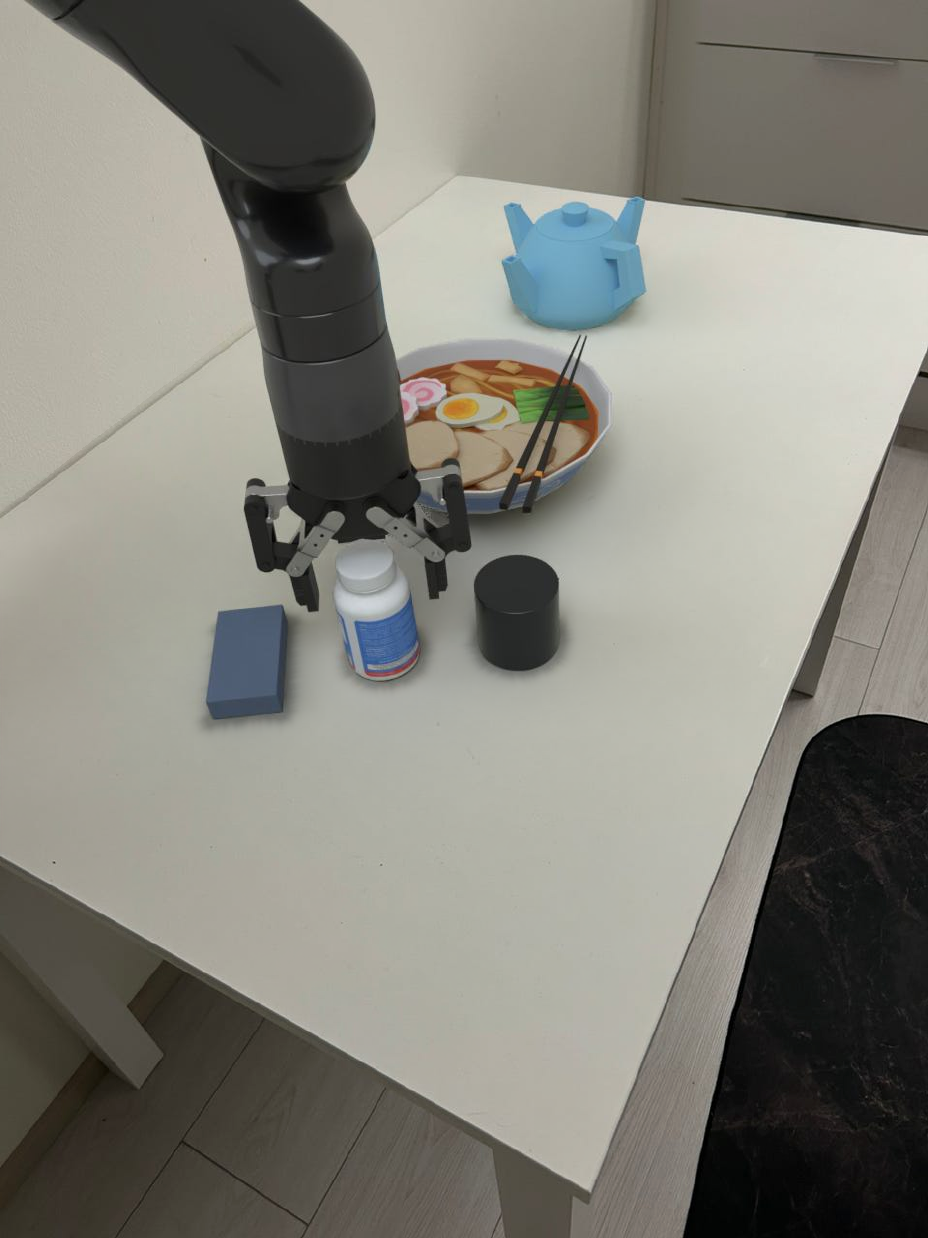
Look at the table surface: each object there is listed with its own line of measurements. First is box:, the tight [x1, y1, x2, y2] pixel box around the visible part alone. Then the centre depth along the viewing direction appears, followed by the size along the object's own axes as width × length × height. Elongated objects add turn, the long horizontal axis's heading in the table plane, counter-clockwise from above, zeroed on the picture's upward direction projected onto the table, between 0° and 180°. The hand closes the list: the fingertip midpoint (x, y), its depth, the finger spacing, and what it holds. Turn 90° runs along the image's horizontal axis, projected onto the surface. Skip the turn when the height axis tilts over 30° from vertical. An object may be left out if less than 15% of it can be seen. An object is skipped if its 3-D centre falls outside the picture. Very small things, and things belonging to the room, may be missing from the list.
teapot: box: [501, 196, 647, 331], centre depth 103 cm, size 15×15×11 cm
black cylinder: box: [473, 554, 560, 672], centre depth 70 cm, size 6×6×6 cm
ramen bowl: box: [396, 334, 613, 515], centre depth 84 cm, size 25×23×8 cm
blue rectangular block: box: [205, 604, 289, 720], centre depth 72 cm, size 9×5×2 cm, turn 5°
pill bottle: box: [332, 539, 421, 682], centre depth 69 cm, size 6×5×10 cm
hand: (374, 597), depth 68 cm, fingers open, 8 cm apart
